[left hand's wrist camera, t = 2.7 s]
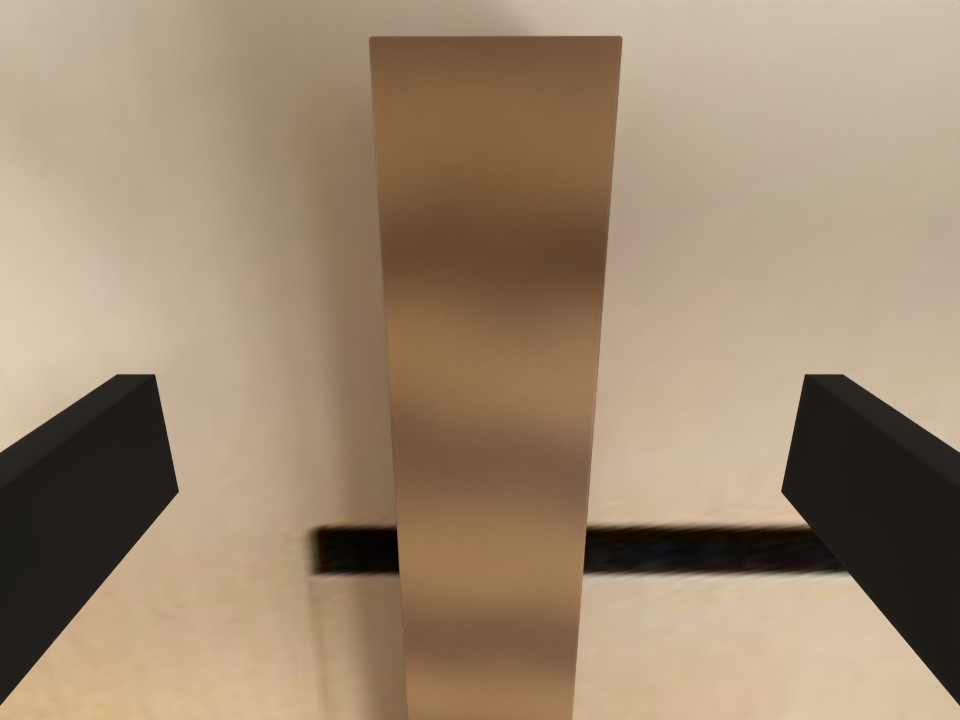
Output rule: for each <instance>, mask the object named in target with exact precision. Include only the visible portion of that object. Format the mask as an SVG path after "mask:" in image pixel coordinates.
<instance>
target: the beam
mask: <svg viewBox="0 0 960 720" xmlns="http://www.w3.org/2000/svg"><path fill="white" fill-rule="evenodd" d="M369 51H370V68H371V85H372V103H373V120H374V137H375V154H376V172H377V189H378V206H379V224H380V241H381V258H382V276H383V293H384V310H385V328H386V345H387V362H388V380H389V397H390V414H391V432H392V449H393V466H394V484H395V501H396V518H397V536H398V553H399V570H400V588H401V605H402V622H403V640H404V657H405V674H406V692H407V709H408V720H572V714H573V701H574V687H575V674H576V660H577V647H578V633H579V620H580V606H581V593H582V579H583V566H584V552H585V539H586V525H587V512H588V498H589V485H590V471H591V458H592V444H593V431H594V417H595V403H596V390H597V376H598V363H599V349H600V336H601V322H602V309H603V295H604V282H605V268H606V255H607V241H608V228H609V214H610V201H611V187H612V174H613V160H614V147H615V133H616V120H617V106H618V93H619V79H620V66H621V52H622V37H621V36H372V37H370V38H369Z"/></svg>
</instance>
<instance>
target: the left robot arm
mask: <svg viewBox="0 0 960 720" xmlns="http://www.w3.org/2000/svg"><path fill="white" fill-rule="evenodd" d="M178 492H179V490H178V485H177V480H176V475H175V470H174V465H173V460H172V456H171V451H170V446H169V441H168V436H167V431H166V426H165V421H164V416H163V411H162V406H161V401H160V397H159V392H158V387H157V382H156V377H155V374H117V375H115V376H114V377H112V378H111V379H110V380H108V381H107V382H105V383H104V384H102V385H101V386H99V387H98V388H96V389H95V390H93V391H92V392H90V393H89V394H87V395H86V396H84V397H83V398H81V399H80V400H78V401H77V402H75V403H74V404H72V405H71V406H69V407H68V408H66V409H65V410H63V411H62V412H60V413H59V414H57V415H56V416H54V417H53V418H51V419H50V420H48V421H47V422H45V423H44V424H42V425H41V426H39V427H38V428H36V429H35V430H33V431H32V432H30V433H29V434H27V435H26V436H24V437H23V438H21V439H20V440H18V441H17V442H15V443H14V444H13V445H11V446H10V447H8V448H7V449H5V450H4V451H2V452H1V453H0V705H1V704H2V703H3V702H4V701H5V699H6V698H7V697H8V696H9V695H10V693H11V692H12V691H13V690H14V689H15V687H16V686H17V685H18V684H19V683H20V681H21V680H22V679H23V678H24V677H25V675H26V674H27V673H28V672H29V671H30V669H31V668H32V667H33V666H34V665H35V663H36V662H37V661H38V660H39V659H40V657H41V656H42V655H43V654H44V653H45V651H46V650H47V649H48V648H49V647H50V645H51V644H52V643H53V642H54V641H55V639H56V638H57V637H58V636H59V635H60V633H61V632H62V631H63V630H64V629H65V627H66V626H67V625H68V624H69V623H70V621H71V620H72V619H73V618H74V617H75V616H76V614H77V613H78V612H79V611H80V610H81V608H82V607H83V606H84V605H85V604H86V602H87V601H88V600H89V599H90V598H91V596H92V595H93V594H94V593H95V592H96V590H97V589H98V588H99V587H100V586H101V584H102V583H103V582H104V581H105V580H106V578H107V577H108V576H109V575H110V574H111V572H112V571H113V570H114V569H115V568H116V566H117V565H118V564H119V563H120V562H121V560H122V559H123V558H124V557H125V556H126V554H127V553H128V552H129V551H130V550H131V548H132V547H133V546H134V545H135V544H136V542H137V541H138V540H139V539H140V538H141V537H142V535H143V534H144V533H145V532H146V531H147V529H148V528H149V527H150V526H151V525H152V523H153V522H154V521H155V520H156V519H157V517H158V516H159V515H160V514H161V513H162V511H163V510H164V509H165V508H166V507H167V505H168V504H169V503H170V502H171V501H172V499H173V498H174V497H175V496H176V495H177V493H178ZM781 492H782V493H783V495H784V496H785V497H786V498H787V499H788V501H789V502H790V503H791V504H792V505H793V507H794V508H795V509H796V510H797V511H798V513H799V514H800V515H801V516H802V517H803V519H804V520H805V521H806V522H807V523H808V525H809V526H810V527H811V528H812V529H813V531H814V532H815V533H816V534H817V535H818V537H819V538H820V539H821V540H822V541H823V542H824V544H825V545H826V546H827V547H828V548H829V550H830V551H831V552H832V553H833V554H834V556H835V557H836V558H837V559H838V560H839V562H840V563H841V564H842V565H843V566H844V568H845V569H846V570H847V571H848V572H849V574H850V575H851V576H852V577H853V578H854V580H855V581H856V582H857V583H858V584H859V586H860V587H861V588H862V589H863V590H864V592H865V593H866V594H867V595H868V596H869V598H870V599H871V600H872V601H873V602H874V604H875V605H876V606H877V607H878V608H879V610H880V611H881V612H882V613H883V614H884V616H885V617H886V618H887V619H888V620H889V622H890V623H891V624H892V625H893V626H894V627H895V629H896V630H897V631H898V632H899V633H900V635H901V636H902V637H903V638H904V639H905V641H906V642H907V643H908V644H909V645H910V647H911V648H912V649H913V650H914V651H915V653H916V654H917V655H918V656H919V657H920V659H921V660H922V661H923V662H924V663H925V665H926V666H927V667H928V668H929V669H930V671H931V672H932V673H933V674H934V675H935V677H936V678H937V679H938V680H939V681H940V683H941V684H942V685H943V686H944V687H945V689H946V690H947V691H948V692H949V693H950V695H951V696H952V697H953V698H954V699H955V701H956V702H957V703H958V704H959V705H960V453H959V452H958V451H956V450H955V449H953V448H952V447H950V446H949V445H947V444H946V443H945V442H943V441H942V440H940V439H939V438H937V437H936V436H934V435H933V434H931V433H930V432H928V431H927V430H925V429H924V428H922V427H921V426H919V425H918V424H916V423H915V422H913V421H912V420H910V419H909V418H907V417H906V416H904V415H903V414H901V413H900V412H898V411H897V410H895V409H894V408H892V407H891V406H889V405H888V404H886V403H885V402H883V401H882V400H880V399H879V398H877V397H876V396H874V395H873V394H871V393H870V392H868V391H867V390H865V389H864V388H862V387H861V386H859V385H858V384H856V383H855V382H853V381H852V380H850V379H849V378H848V377H846V376H845V375H843V374H805V377H804V382H803V387H802V392H801V397H800V401H799V406H798V411H797V416H796V421H795V426H794V431H793V436H792V441H791V446H790V451H789V456H788V460H787V465H786V470H785V475H784V480H783V485H782V490H781Z"/></svg>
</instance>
